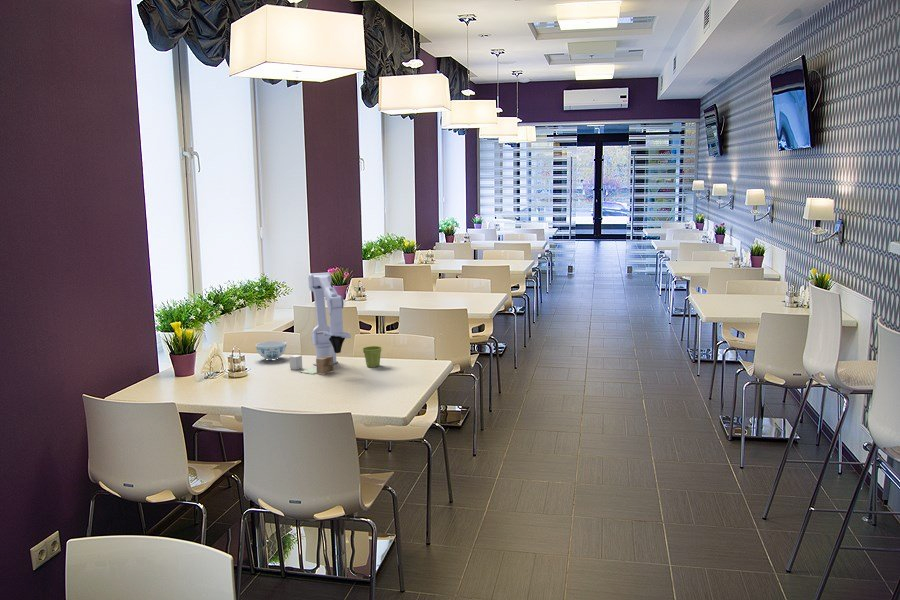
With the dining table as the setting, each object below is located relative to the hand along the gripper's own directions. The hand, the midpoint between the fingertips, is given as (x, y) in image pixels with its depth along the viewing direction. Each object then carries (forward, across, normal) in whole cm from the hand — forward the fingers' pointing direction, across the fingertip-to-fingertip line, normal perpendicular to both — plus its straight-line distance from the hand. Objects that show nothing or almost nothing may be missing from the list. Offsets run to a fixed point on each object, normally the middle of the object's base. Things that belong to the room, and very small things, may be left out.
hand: (337, 352), depth 354 cm
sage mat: (+10, -14, 0) cm, 18 cm away
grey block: (+10, -26, 0) cm, 28 cm away
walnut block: (+10, -8, 0) cm, 13 cm away
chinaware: (+10, -52, +10) cm, 54 cm away
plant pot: (+10, +4, +20) cm, 23 cm away
